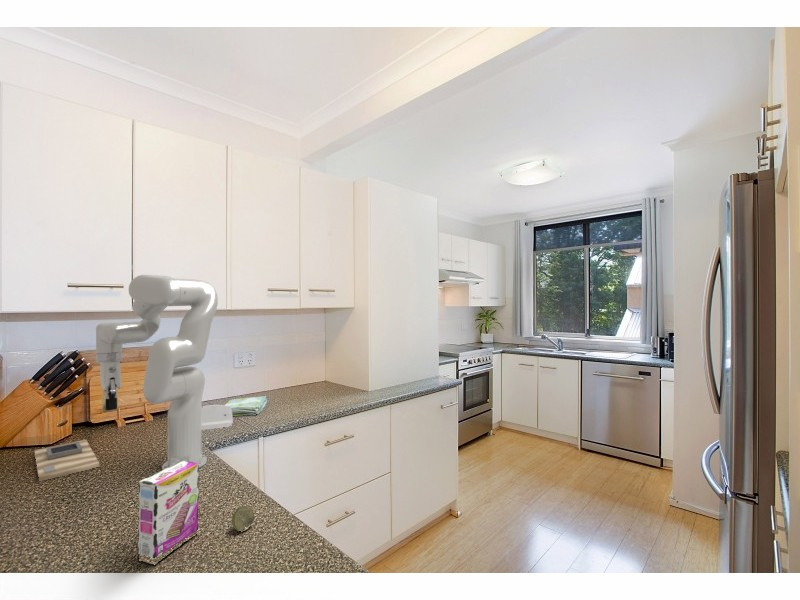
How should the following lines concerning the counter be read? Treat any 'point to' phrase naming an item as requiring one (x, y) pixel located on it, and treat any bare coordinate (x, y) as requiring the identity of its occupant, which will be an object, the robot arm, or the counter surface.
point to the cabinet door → (64, 459)
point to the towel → (247, 405)
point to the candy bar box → (167, 508)
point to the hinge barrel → (105, 402)
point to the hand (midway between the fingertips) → (110, 407)
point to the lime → (242, 518)
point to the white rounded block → (216, 417)
